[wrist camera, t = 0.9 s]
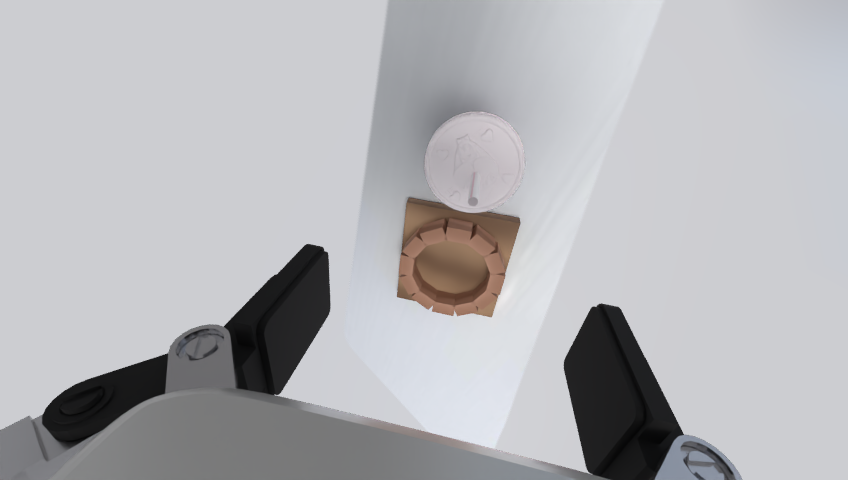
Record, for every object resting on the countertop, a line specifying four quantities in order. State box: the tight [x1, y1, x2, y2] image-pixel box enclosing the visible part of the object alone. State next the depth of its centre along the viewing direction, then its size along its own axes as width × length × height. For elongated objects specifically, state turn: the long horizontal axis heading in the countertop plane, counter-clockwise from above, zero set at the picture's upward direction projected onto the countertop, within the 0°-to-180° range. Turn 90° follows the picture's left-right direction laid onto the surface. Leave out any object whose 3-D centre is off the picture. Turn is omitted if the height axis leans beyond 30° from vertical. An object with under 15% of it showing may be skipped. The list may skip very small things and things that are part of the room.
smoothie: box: [424, 111, 525, 213], centre depth 23 cm, size 6×6×14 cm
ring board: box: [397, 198, 520, 317], centre depth 34 cm, size 12×11×3 cm
